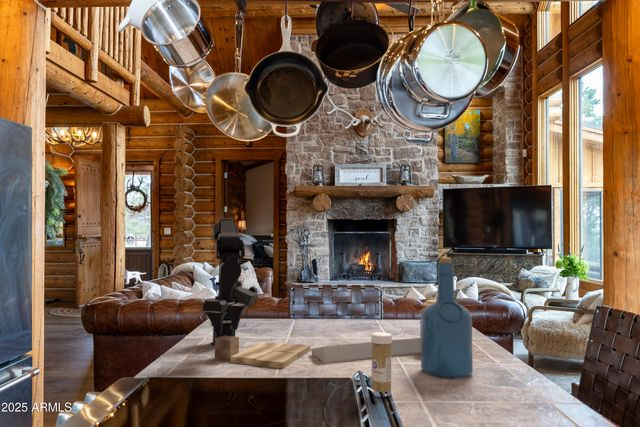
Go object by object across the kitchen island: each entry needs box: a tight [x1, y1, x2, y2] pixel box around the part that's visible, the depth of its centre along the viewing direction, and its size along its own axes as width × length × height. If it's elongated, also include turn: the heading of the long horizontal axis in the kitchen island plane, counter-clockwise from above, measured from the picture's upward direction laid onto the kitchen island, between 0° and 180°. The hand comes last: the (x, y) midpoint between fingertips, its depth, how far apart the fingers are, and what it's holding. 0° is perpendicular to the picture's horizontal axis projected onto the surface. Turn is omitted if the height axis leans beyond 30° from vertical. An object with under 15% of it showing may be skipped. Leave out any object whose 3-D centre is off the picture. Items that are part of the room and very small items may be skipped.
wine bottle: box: [420, 256, 474, 380], centre depth 120 cm, size 14×13×30 cm
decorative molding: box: [310, 337, 421, 364], centre depth 139 cm, size 34×5×10 cm
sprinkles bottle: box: [370, 331, 393, 395], centre depth 102 cm, size 5×5×13 cm
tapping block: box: [214, 335, 240, 363], centre depth 132 cm, size 5×5×6 cm
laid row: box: [255, 342, 312, 369], centre depth 134 cm, size 8×22×2 cm, turn 162°
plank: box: [230, 341, 286, 366], centre depth 136 cm, size 8×20×2 cm, turn 162°
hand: (227, 332), depth 133 cm, fingers open, 9 cm apart
